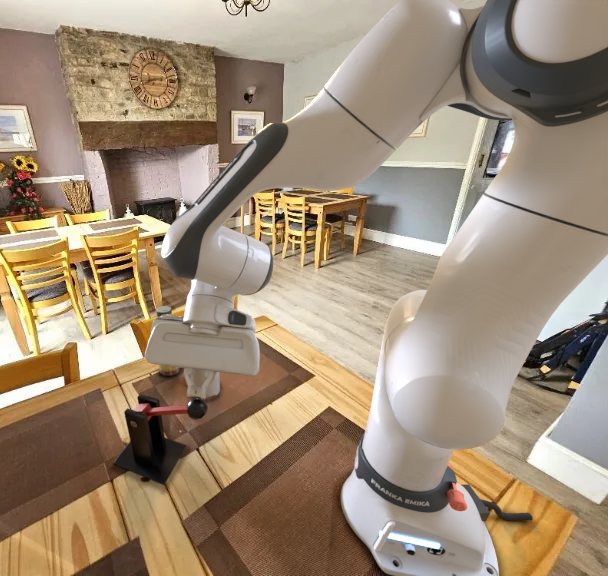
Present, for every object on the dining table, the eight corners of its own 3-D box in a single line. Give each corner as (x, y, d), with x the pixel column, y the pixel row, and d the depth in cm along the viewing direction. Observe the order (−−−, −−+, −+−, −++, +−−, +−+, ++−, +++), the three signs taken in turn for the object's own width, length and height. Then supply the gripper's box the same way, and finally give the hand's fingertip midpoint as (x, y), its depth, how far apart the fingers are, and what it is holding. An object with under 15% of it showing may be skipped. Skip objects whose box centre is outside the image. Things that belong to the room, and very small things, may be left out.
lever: (214, 408, 54) (205, 392, 53) (205, 424, 51) (196, 407, 50) (147, 413, 62) (139, 398, 61) (136, 427, 59) (127, 412, 58)
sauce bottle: (176, 378, 87) (169, 316, 78) (156, 375, 88) (146, 314, 80) (184, 363, 93) (178, 304, 84) (164, 361, 94) (156, 303, 85)
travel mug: (226, 389, 82) (224, 332, 75) (203, 406, 77) (199, 346, 70) (206, 375, 87) (202, 320, 80) (184, 390, 82) (177, 333, 75)
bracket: (187, 449, 66) (181, 397, 60) (164, 489, 59) (155, 433, 53) (140, 433, 70) (130, 382, 64) (114, 468, 63) (99, 414, 57)
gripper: (148, 308, 56) (130, 388, 51) (262, 318, 52) (254, 406, 47) (160, 317, 61) (146, 390, 57) (264, 326, 57) (257, 406, 53)
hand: (196, 397), depth 52 cm, fingers closed, pressing on lever
